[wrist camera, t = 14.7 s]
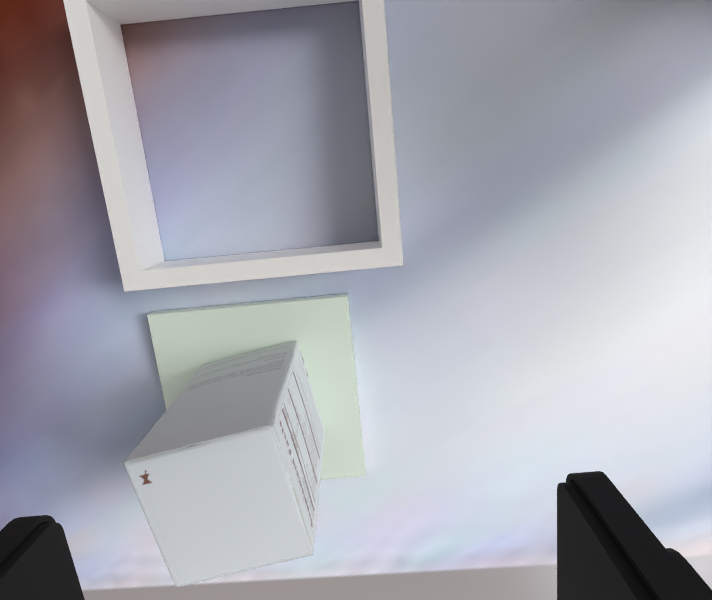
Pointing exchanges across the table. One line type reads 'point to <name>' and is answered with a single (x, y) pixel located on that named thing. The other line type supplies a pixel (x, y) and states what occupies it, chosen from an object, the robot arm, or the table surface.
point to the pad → (267, 329)
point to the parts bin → (129, 169)
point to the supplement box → (234, 467)
